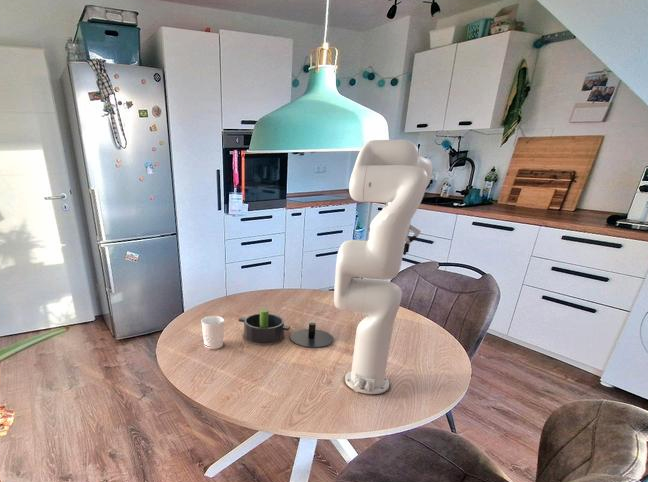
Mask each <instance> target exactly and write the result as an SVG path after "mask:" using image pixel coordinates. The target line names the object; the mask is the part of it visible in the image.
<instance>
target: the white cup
mask: <svg viewBox="0 0 648 482" xmlns="http://www.w3.org/2000/svg"><path fill="white" fill-rule="evenodd" d="M200 322H201V331H202V338H203V344H205V345H207V346H211V347H207V346H205V345H204V347H205V348H206V349H209V350H216V349H219V348H222V347H223V346H224V337H225V335H224V333H225V319H224V318H223V317H222V316H219V315H208V316H205V317H203V318H201V320H200ZM220 345H221V346H220ZM216 346H219V347H216Z"/></svg>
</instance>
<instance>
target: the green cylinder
mask: <svg viewBox="0 0 648 482" xmlns="http://www.w3.org/2000/svg"><path fill="white" fill-rule="evenodd" d="M259 314H260V328H268V314H270V312H269V309H266V308H261V309H260V310H259Z"/></svg>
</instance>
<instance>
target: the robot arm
mask: <svg viewBox="0 0 648 482" xmlns="http://www.w3.org/2000/svg"><path fill="white" fill-rule="evenodd" d="M432 176H433V163H432V160H430V159H429V158H428V157H425V156H421V155H420V151H419V147H418V146H417V145H416V143H414V142H413V141H411V140H408V139H374V140H369V141H367V142H365V143H364V145H363V146H362V147H361V148H360V150H359V152H358V154H357V158H356V160H355V163H354V166H353V169H352V172H351V175H350V178H349V183H348V192H349V195H350V197H351V199H352V200H353V201H356V202H358V203H381V204H384V205H385V206H383V207H382V209H381V210H380V211H379V212H378V213H377V214H376V215H375V217H374V218H373V219H372V220H371V222H370V225H369V227H368V229H367V230H368V232H369V234H368V240H363V239H349V240H345V241H344V242H343V243H341V245H340V246H339V248H338V251H337V254H336V262H335V273H334V288H333V289H334V290H333V305H334V307H335V309H336V310H338V311H341V312H347V313H353V314H361V315H366V316H365V317H364V318H363V319H362V320H361V321H360V322H359V323H358V325H357V327H356V331H355V337H354V338H355V339H354V346H353V355H352V363H351V370H350V371H348V372H347V373H346V374H345V376H344V382H345V384H346V386H348V387H349V388H350V389H352V390H353V392H356V393H361V394H365V395H379V394H383V393H386V392H387V391H388V390H389V388H390V381H389V379H388V378H387V377H386V372H387V368H388V367H387V366H388V360H389V354H390V348H391V342H392V336H393V330H394V326H395V321H396V317H397V314H398V312H399V308H400V305H401V303H402V298H403V292H402V291H403V290H402V288H401V287H400V286H399V285H398V284H397V283H395V282H392V281H389V280H392V279H394V278H396V277H397V276H398V274H399V273H400V270H401V267H402V262H403V256H406V255H407V253H409V250H410V244H411V243H413V242H414V241H415V240H416V239H417V237H418V236H419V235H420V234H421V230H420V229H418V228H417V227H415V226H413V225H412V224H411V221H412V219H413V217H414V215H415V214H416V212H417V210H418V208H419V207H420V205H421V203H422V201H423V199H424V196H425V192H426V189H427V188H428V186H429V185H430V183H431V179H432ZM410 231H411V232H413V234H414V235H413V236H411V237H410V236H409V234H410Z"/></svg>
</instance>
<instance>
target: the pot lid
mask: <svg viewBox="0 0 648 482" xmlns="http://www.w3.org/2000/svg"><path fill="white" fill-rule="evenodd" d="M316 326H317V324H316V322H312V321H311V322H308V328H301V329H297V330H294V331H292V332H291V334H290V335H289V336H290V337H289V339H290V341H291V342H292V343H293V344H294V345H296V346H298V347H302V348H308V349H321V348H327V347H328V346H330V345H332V344H333V342H334V337H333V335H331V334H330V333H329V332H327V331H324V330H321V329H318V328H317V329H316Z"/></svg>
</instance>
